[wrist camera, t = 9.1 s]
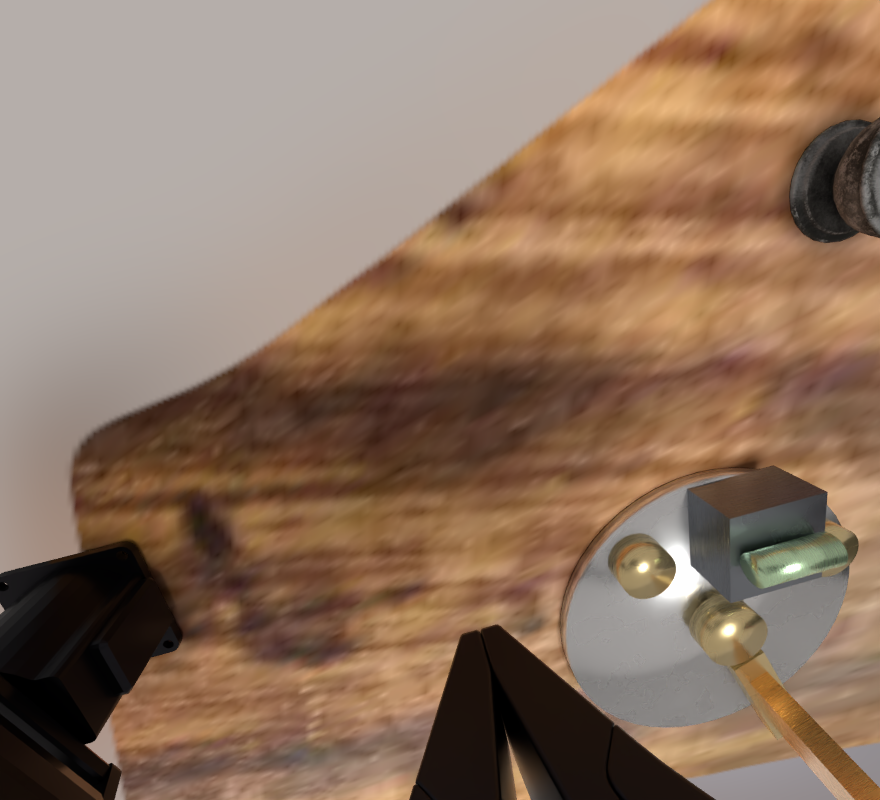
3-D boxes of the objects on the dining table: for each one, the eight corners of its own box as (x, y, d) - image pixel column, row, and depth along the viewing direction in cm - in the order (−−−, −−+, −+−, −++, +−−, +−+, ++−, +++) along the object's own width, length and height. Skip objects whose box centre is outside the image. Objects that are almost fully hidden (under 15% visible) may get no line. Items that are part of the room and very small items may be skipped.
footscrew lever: (679, 617, 25) (861, 827, 16) (733, 582, 25) (949, 774, 15) (751, 727, 29) (934, 953, 19) (798, 698, 29) (1007, 912, 19)
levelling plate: (578, 743, 29) (622, 848, 24) (540, 514, 24) (586, 584, 18) (824, 669, 30) (919, 753, 25) (842, 433, 25) (968, 478, 20)
